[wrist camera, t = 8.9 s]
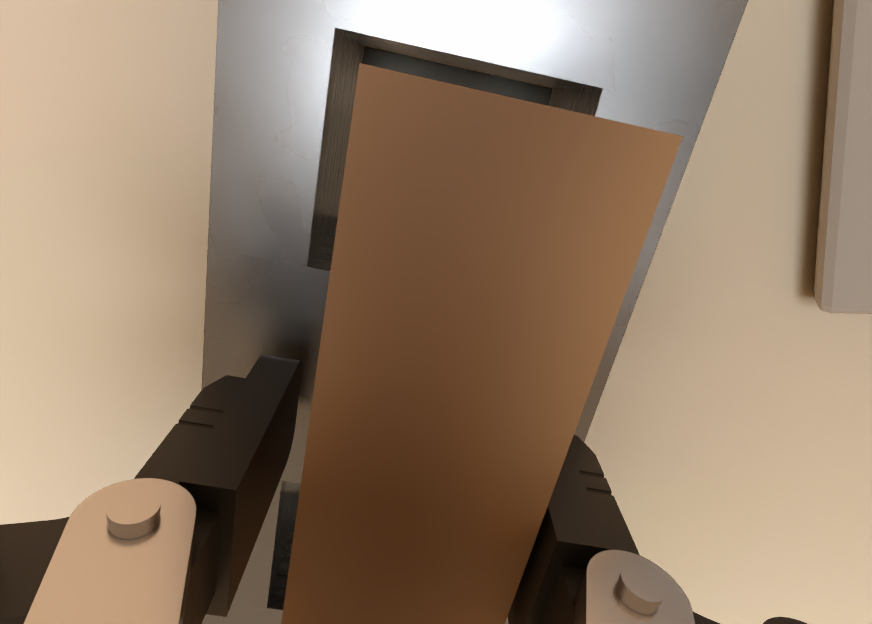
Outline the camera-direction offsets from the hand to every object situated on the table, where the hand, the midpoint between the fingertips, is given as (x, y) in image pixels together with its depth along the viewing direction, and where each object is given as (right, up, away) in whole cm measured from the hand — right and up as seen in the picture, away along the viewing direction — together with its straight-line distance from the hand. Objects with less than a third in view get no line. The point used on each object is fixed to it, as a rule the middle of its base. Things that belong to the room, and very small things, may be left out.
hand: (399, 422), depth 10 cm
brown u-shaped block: (0, +2, +4) cm, 5 cm away
